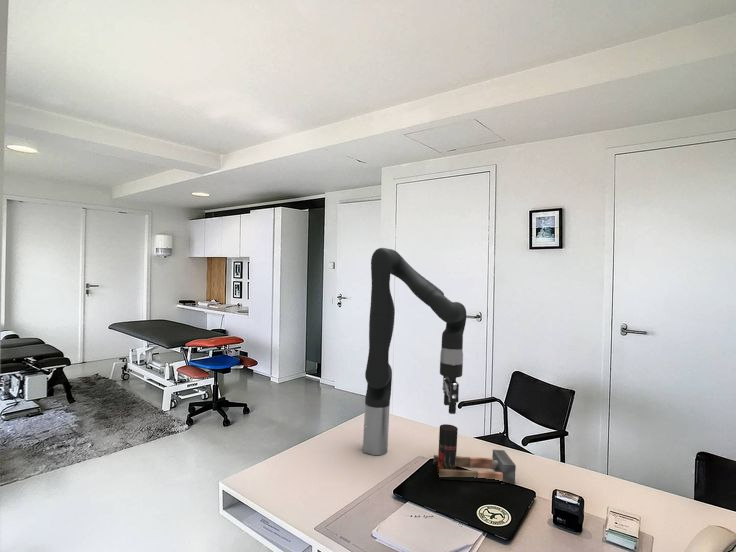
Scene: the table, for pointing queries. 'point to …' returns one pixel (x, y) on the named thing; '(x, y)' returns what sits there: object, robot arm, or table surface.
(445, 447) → the deodorant
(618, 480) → the table surface
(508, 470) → the guide channel
